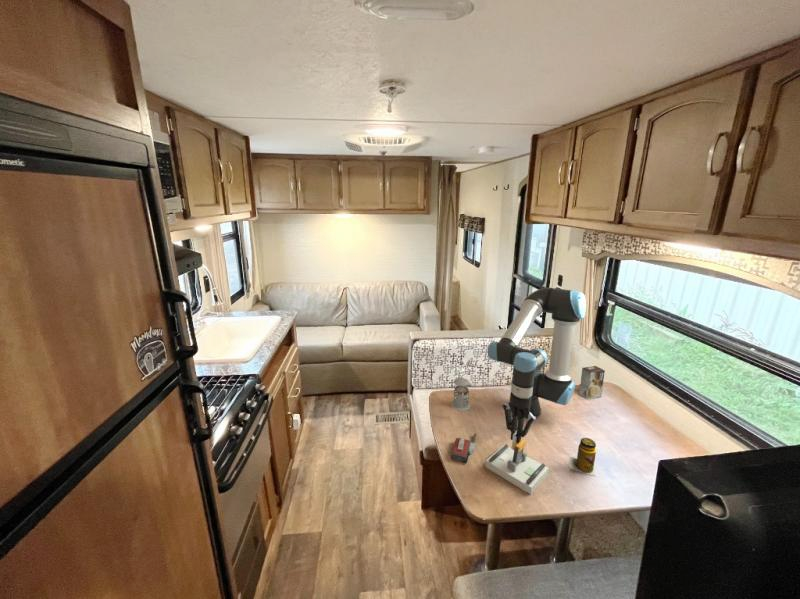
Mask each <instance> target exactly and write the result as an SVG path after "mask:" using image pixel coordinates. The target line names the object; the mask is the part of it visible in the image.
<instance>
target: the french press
mask: <svg viewBox="0 0 800 599" xmlns="http://www.w3.org/2000/svg"><path fill="white" fill-rule="evenodd" d="M460 365H461V367H463V366H464V365H465V362H464V361H460ZM453 383H454V384H455V385H456V386H454V390H453V402H452V403H451V407H452V408H453V409H454V410H457V411H460V412H461V411H464V412H465V411H467V410H470V408H471V404H470V402H469V400H470V398H469V396H470V392H469V387H468V386H469V385H470V383H471V382H470V380H468V379H467V378H464V377H458V378H455V379H454V381H453Z"/></svg>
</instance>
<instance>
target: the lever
mask: <svg viewBox="0 0 800 599" xmlns="http://www.w3.org/2000/svg"><path fill="white" fill-rule="evenodd" d="M526 444H527V441H526V440H525V439H522V438H521V441H520V442H519V443H517V442H516V443H515V444H514V447H513V449H514V455H513V461H512V462H514V463H516V464H517V465H518V464H519V463H520V462H521V461H522V460H523V456H522V455H523V452H524V450H525V447H526ZM517 465H516V466H517Z"/></svg>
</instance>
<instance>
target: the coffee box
mask: <svg viewBox="0 0 800 599" xmlns="http://www.w3.org/2000/svg"><path fill="white" fill-rule="evenodd" d="M605 371H606V370H605V369H604V368H603V369H602V368H601V367H599V366H596V365H593V366H586V367H582V368H581V377H580V385H579V395H580V396H582V397H583V398H584V399H586V398H587V399H586V400H591V398H593V399H597V397H598V398H602V394H603V393H602V392H603V388H604V387H603V386H604V379H605V373H606V372H605Z"/></svg>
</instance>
